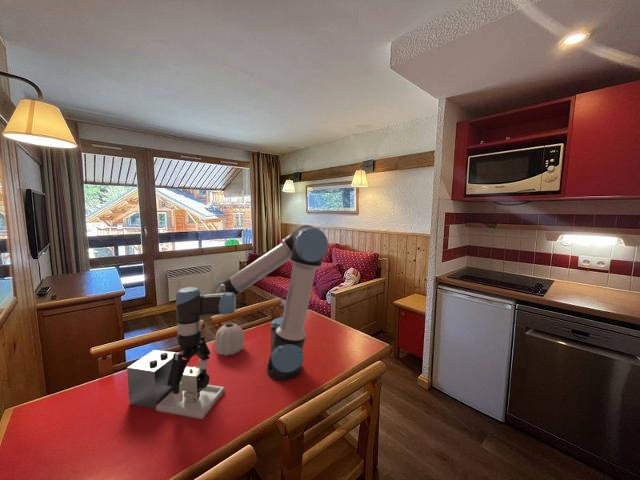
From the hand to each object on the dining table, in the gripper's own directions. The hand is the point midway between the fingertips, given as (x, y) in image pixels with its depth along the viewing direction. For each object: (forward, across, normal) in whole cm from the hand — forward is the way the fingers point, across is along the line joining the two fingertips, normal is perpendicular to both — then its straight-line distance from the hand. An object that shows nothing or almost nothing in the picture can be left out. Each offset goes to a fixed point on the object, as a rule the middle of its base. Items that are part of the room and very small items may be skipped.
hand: (191, 387), depth 96 cm
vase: (+6, -34, -4) cm, 35 cm away
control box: (+5, 0, -15) cm, 16 cm away
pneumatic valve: (+5, 0, 0) cm, 5 cm away
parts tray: (+5, 0, 0) cm, 5 cm away
